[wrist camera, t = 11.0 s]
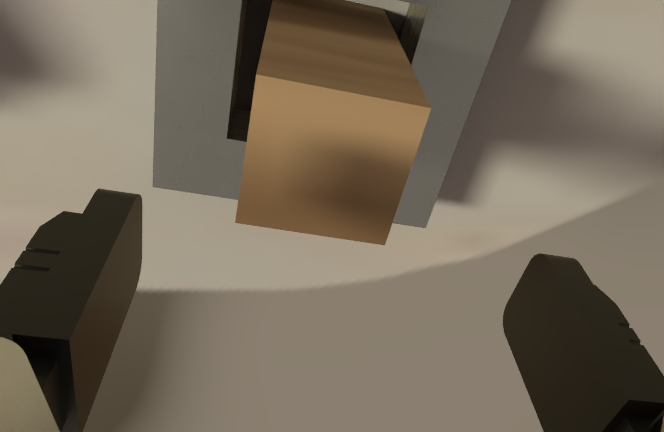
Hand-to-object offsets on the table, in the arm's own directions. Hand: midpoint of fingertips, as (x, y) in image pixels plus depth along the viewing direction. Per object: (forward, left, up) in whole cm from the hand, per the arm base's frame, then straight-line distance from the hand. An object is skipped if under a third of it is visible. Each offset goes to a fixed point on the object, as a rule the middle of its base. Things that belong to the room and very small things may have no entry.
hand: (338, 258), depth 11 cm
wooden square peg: (0, 0, -14) cm, 14 cm away
